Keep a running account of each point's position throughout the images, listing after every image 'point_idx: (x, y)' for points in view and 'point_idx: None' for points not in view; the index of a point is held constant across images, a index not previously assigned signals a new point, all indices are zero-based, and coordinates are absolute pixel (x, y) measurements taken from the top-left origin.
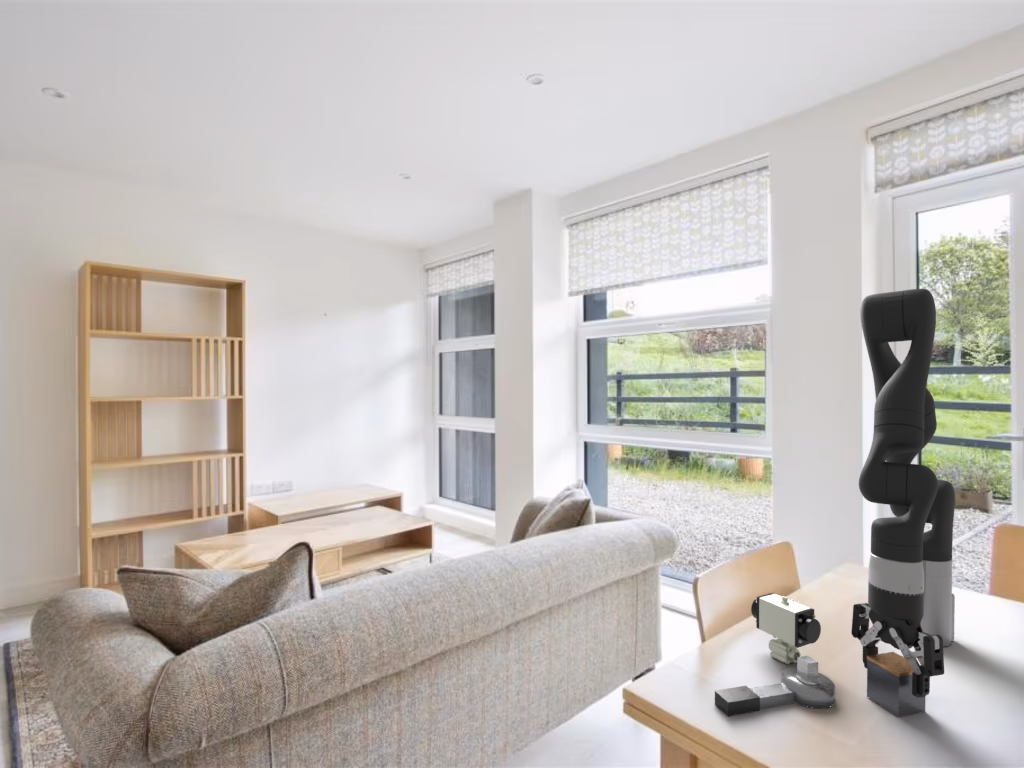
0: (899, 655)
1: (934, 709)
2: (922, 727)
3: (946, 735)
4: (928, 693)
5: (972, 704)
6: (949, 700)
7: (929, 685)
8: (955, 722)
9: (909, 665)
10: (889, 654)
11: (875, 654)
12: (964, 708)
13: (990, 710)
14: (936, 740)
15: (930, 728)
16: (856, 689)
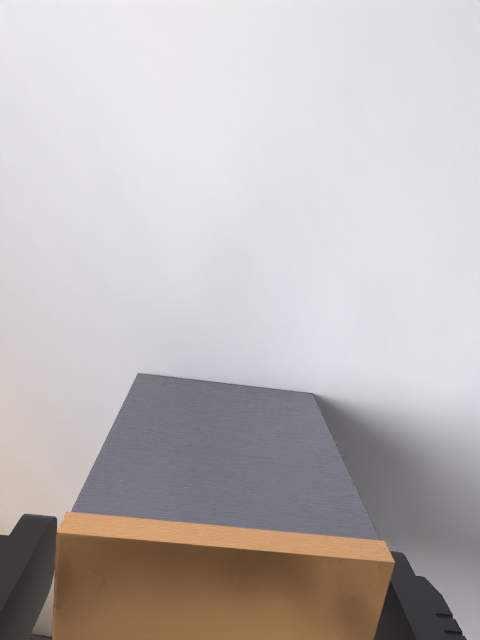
0: (133, 545)
1: (320, 329)
2: (370, 515)
3: (446, 481)
4: (429, 585)
5: (393, 66)
6: (310, 155)
7: (462, 635)
8: (424, 349)
9: (295, 634)
10: (87, 607)
11: (9, 623)
12: (390, 165)
13: (473, 34)
14: (440, 545)
15: (390, 493)
16: (56, 507)
